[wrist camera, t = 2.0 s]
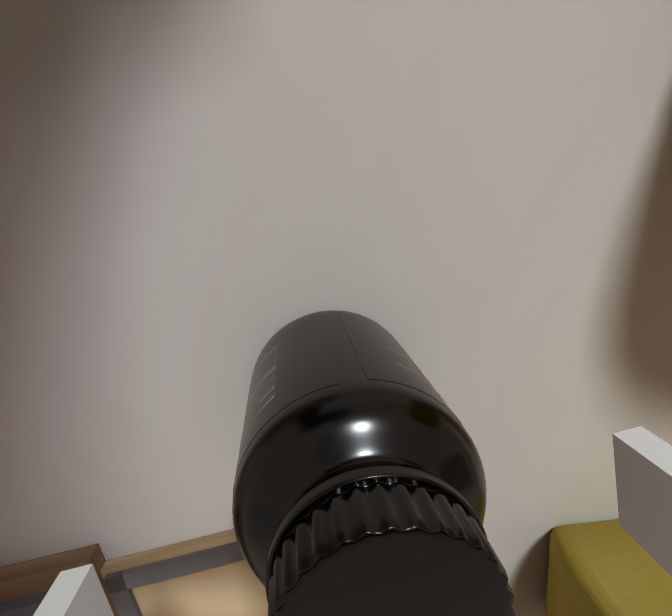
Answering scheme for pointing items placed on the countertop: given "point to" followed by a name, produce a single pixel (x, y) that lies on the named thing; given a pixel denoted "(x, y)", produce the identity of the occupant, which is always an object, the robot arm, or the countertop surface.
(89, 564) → the robot arm
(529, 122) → the countertop surface
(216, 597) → the board
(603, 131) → the countertop surface
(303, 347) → the supplement bottle
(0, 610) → the pad
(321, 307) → the countertop surface
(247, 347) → the countertop surface
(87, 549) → the ink tray
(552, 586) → the flower pot
